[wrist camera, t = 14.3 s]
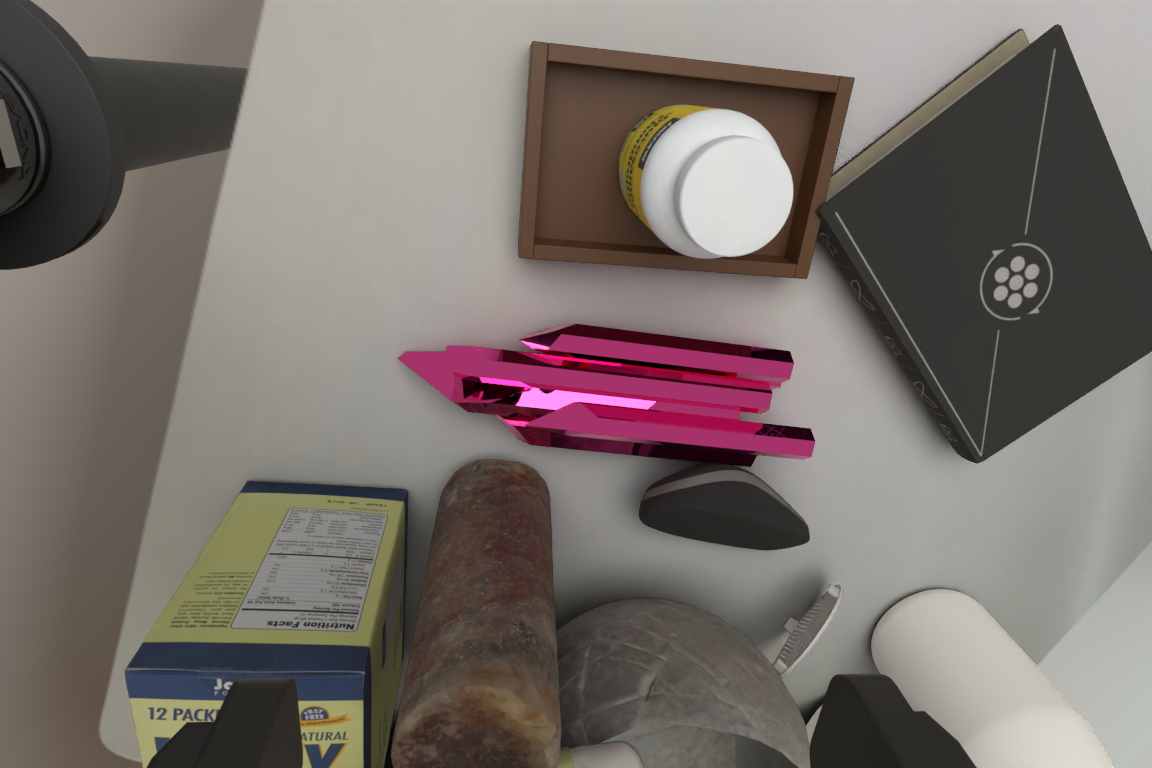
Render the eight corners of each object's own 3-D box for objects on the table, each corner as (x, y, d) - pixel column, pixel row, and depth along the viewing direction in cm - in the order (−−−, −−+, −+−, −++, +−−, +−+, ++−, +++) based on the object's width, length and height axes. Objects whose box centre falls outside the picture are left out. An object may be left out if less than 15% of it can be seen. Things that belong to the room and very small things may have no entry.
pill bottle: (662, 77, 35) (728, 73, 25) (752, 150, 37) (850, 175, 27) (591, 183, 37) (625, 221, 27) (681, 248, 39) (745, 306, 29)
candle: (427, 530, 46) (375, 817, 28) (448, 439, 44) (405, 691, 25) (534, 548, 48) (550, 832, 30) (561, 461, 45) (597, 714, 27)
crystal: (799, 496, 41) (380, 456, 37) (766, 456, 46) (395, 418, 42) (837, 368, 38) (391, 312, 35) (797, 341, 44) (405, 290, 40)
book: (792, 204, 39) (813, 212, 37) (1019, 26, 37) (1061, 22, 34) (947, 446, 47) (974, 468, 45) (1143, 315, 45) (1184, 330, 42)
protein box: (261, 658, 49) (161, 888, 35) (244, 477, 43) (116, 667, 29) (406, 660, 51) (366, 883, 36) (410, 485, 45) (364, 670, 30)
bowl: (798, 659, 54) (896, 851, 41) (596, 779, 58) (624, 992, 44) (660, 496, 47) (723, 664, 33) (437, 645, 50) (411, 853, 37)
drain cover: (827, 587, 53) (816, 579, 54) (855, 585, 45) (842, 575, 46) (766, 674, 52) (755, 665, 52) (784, 686, 44) (771, 676, 44)
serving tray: (517, 246, 39) (518, 257, 36) (530, 44, 35) (532, 40, 32) (788, 267, 41) (807, 279, 39) (831, 78, 37) (855, 77, 34)
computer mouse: (835, 540, 43) (829, 481, 45) (684, 503, 38) (684, 438, 40) (757, 556, 49) (754, 502, 51) (617, 525, 44) (619, 467, 45)
